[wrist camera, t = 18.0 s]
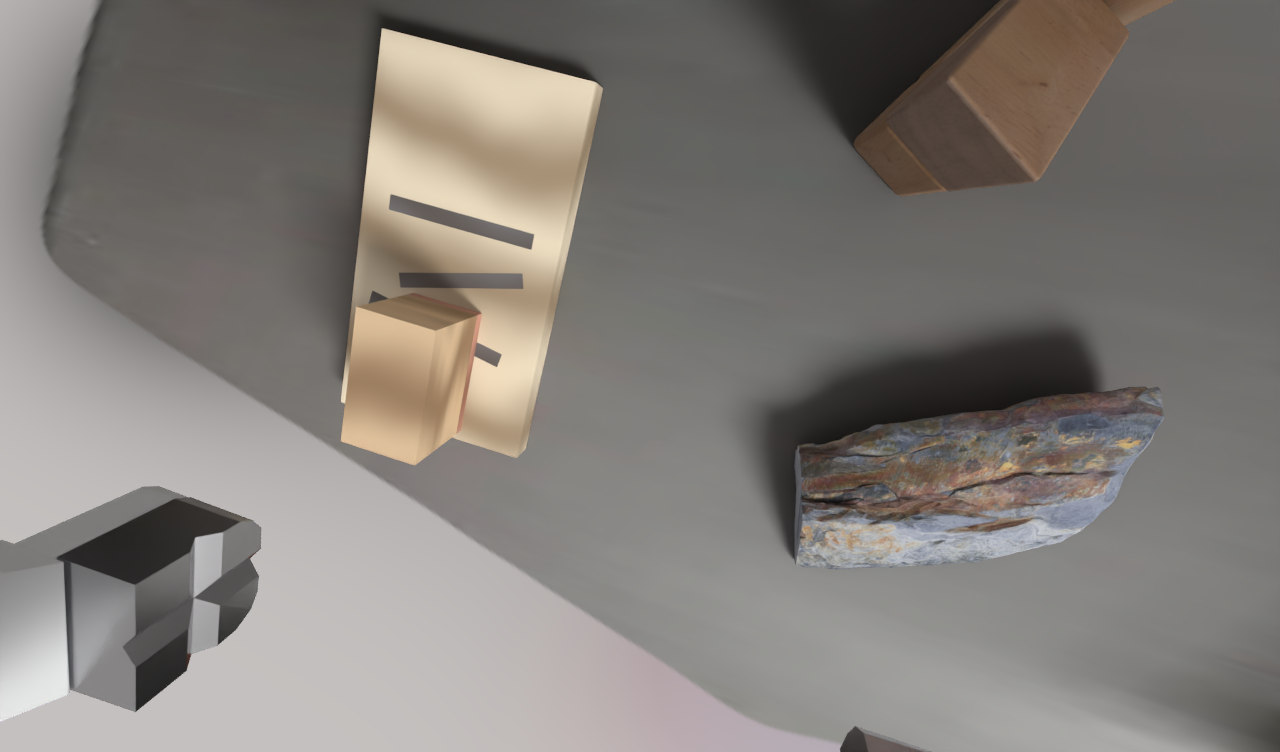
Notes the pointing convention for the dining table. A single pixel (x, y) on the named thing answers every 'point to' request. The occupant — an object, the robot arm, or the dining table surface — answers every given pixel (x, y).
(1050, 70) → the stacked wooden blocks
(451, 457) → the dining table surface
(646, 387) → the dining table surface
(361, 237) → the board
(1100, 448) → the stone
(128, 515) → the robot arm
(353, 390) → the block
